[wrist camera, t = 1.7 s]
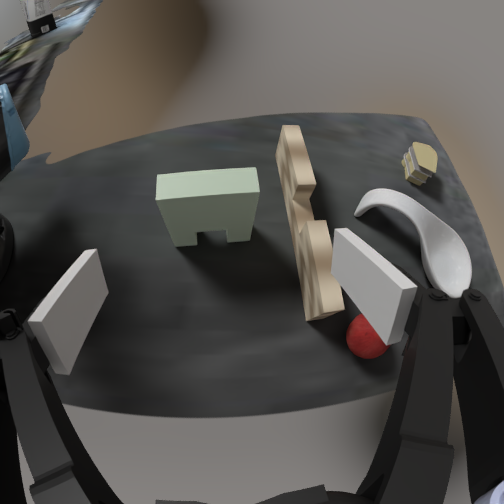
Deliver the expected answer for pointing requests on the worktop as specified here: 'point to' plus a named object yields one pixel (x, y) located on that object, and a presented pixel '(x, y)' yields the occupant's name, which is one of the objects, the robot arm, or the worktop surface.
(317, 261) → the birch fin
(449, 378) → the robot arm
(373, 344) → the onion
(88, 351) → the worktop surface
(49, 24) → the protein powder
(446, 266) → the spoon rest
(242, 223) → the notched piece
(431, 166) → the pale yellow layered block
